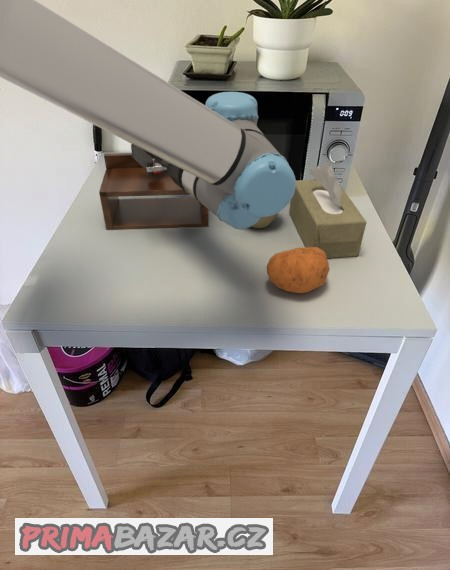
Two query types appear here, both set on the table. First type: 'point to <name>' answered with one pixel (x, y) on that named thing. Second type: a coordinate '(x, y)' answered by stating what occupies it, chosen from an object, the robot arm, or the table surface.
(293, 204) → the tissue box
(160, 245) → the table surface
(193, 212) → the shelf
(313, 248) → the potato
